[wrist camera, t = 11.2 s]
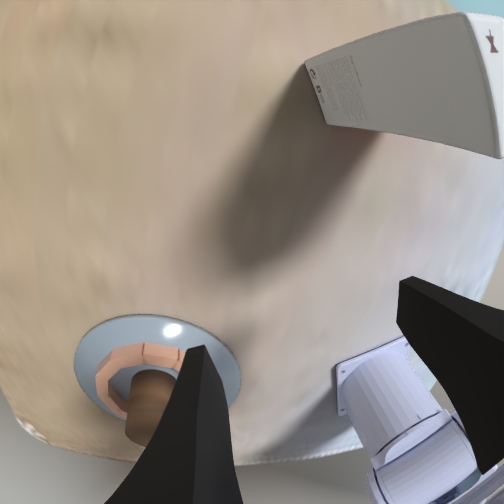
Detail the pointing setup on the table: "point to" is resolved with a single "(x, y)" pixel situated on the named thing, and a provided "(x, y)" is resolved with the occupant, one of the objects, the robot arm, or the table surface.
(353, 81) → the skincare box
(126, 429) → the brown rounded cylinder
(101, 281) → the table surface
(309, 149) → the table surface
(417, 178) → the table surface
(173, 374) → the ring dish
